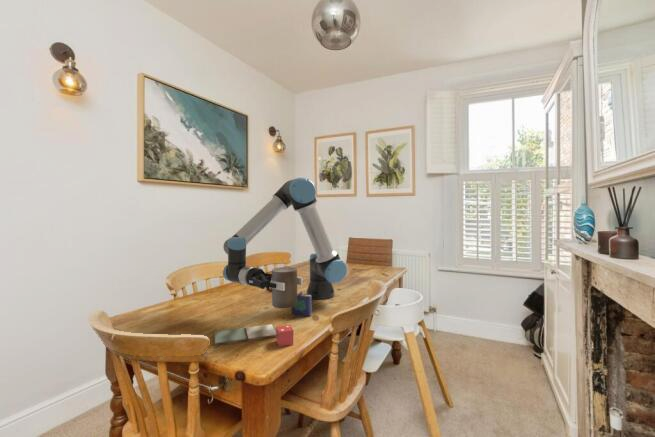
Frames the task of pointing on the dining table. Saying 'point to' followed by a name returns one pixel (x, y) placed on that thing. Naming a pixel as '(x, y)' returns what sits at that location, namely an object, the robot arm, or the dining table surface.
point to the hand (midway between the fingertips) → (293, 284)
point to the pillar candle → (290, 294)
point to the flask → (302, 305)
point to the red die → (284, 335)
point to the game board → (244, 334)
